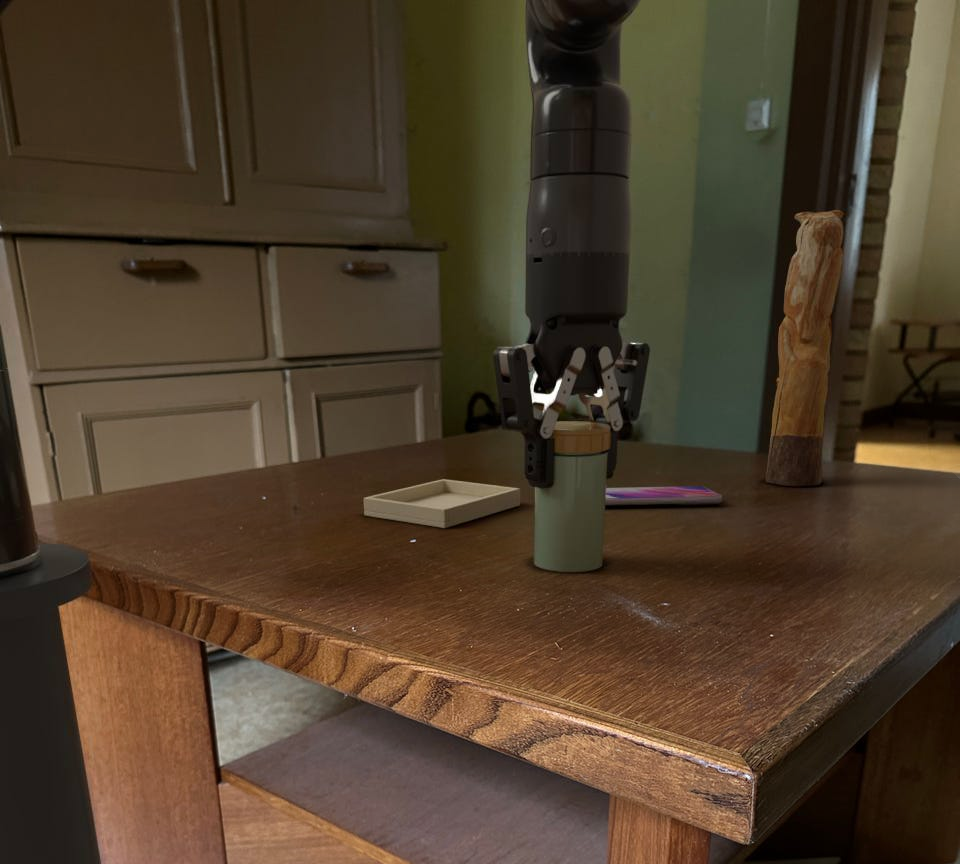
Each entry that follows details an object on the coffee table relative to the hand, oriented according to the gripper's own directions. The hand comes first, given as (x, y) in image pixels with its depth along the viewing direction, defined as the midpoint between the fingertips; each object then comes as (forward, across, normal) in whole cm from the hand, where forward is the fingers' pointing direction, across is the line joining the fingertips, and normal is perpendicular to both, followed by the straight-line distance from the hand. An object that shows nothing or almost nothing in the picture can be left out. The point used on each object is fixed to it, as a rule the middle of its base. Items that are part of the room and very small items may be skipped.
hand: (571, 481), depth 72 cm
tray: (+7, -4, -24) cm, 25 cm away
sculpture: (+7, -47, -13) cm, 50 cm away
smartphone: (+7, -24, -14) cm, 29 cm away
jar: (+7, 0, 0) cm, 7 cm away
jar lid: (-4, 0, 0) cm, 4 cm away
